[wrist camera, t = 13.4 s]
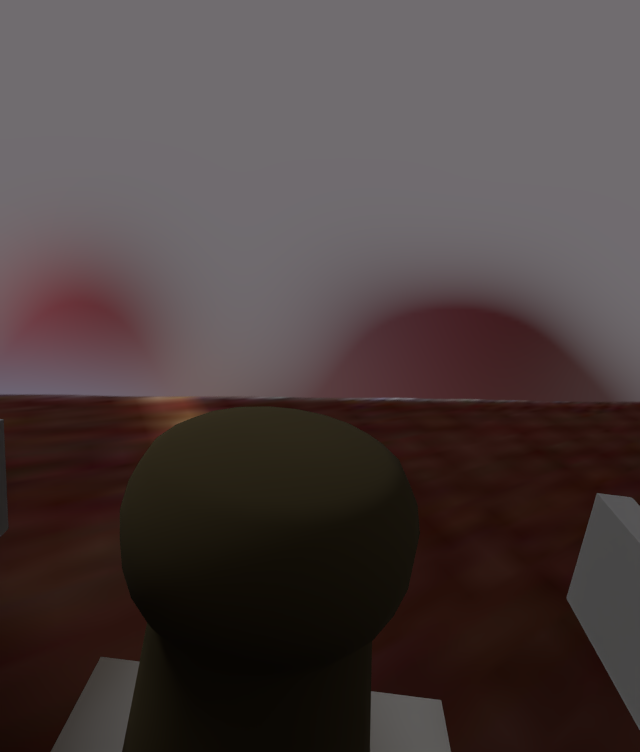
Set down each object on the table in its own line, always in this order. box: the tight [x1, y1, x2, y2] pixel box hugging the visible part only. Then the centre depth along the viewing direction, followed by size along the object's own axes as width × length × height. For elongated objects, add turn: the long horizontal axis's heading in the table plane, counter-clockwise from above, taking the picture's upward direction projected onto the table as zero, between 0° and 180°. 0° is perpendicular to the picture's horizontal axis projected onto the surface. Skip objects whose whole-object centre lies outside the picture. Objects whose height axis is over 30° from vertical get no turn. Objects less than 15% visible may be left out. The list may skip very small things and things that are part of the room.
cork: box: [120, 407, 420, 752], centre depth 12 cm, size 6×6×11 cm
